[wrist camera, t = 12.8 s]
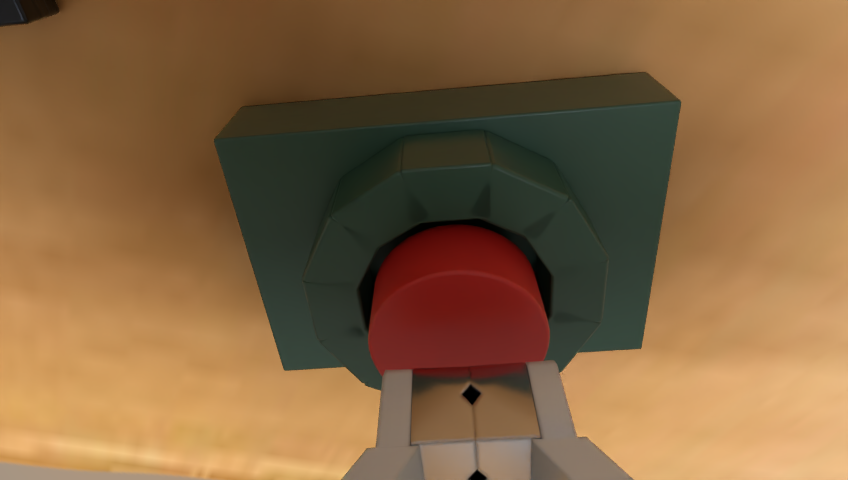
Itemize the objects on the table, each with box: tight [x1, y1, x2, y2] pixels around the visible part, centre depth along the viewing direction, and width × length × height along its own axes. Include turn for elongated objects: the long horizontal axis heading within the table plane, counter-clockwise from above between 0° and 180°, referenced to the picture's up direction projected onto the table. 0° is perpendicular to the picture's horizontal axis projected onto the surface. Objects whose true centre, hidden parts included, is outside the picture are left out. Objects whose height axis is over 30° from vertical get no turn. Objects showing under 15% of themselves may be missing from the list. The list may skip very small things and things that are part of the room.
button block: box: [214, 72, 681, 390], centre depth 14 cm, size 10×7×4 cm
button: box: [368, 224, 550, 376], centre depth 12 cm, size 4×4×2 cm
